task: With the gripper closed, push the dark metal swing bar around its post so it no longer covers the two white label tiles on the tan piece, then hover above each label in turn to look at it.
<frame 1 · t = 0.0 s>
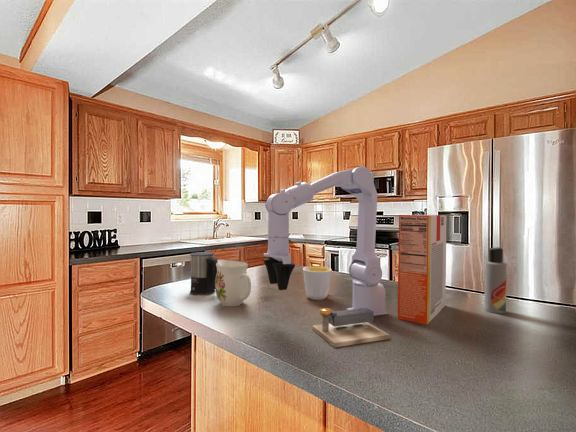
hand: (278, 286, 89), 10 cm above the worktop, tool pointing down, fingers open, 7 cm apart
milk frother: (212, 291, 125), on the worktop
cereal box: (423, 312, 101), on the worktop
pitcher: (233, 304, 107), on the worktop
tan piece: (349, 333, 82), on the worktop
swing bar: (345, 314, 83), point 4 cm above the worktop, hinge at 0.0°
mug: (319, 297, 117), on the worktop
lotion bottle: (494, 311, 102), on the worktop
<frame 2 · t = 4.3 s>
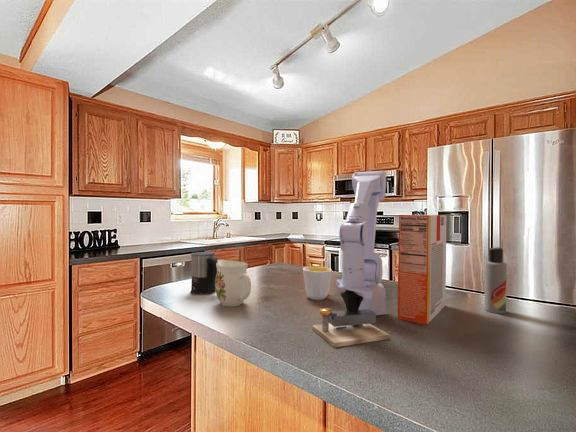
hand: (352, 319, 86), 2 cm above the worktop, tool pointing down, fingers closed, pressing on swing bar
swing bar: (346, 315, 83), point 4 cm above the worktop, hinge at 5.9°, touching gripper
everything else where it was.
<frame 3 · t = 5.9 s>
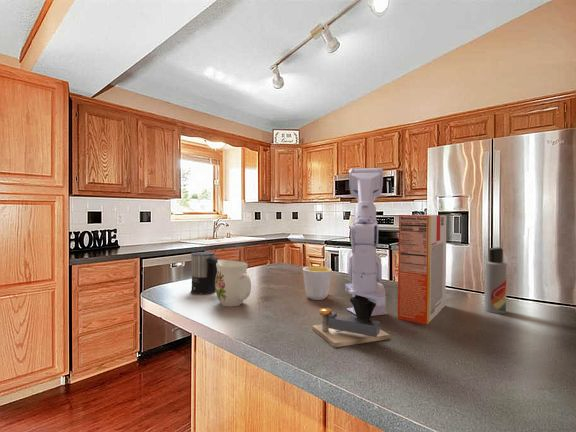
hand: (363, 326, 80), 2 cm above the worktop, tool pointing down, fingers closed
swing bar: (347, 321, 78), point 4 cm above the worktop, hinge at 49.1°, touching gripper
everything else where it was.
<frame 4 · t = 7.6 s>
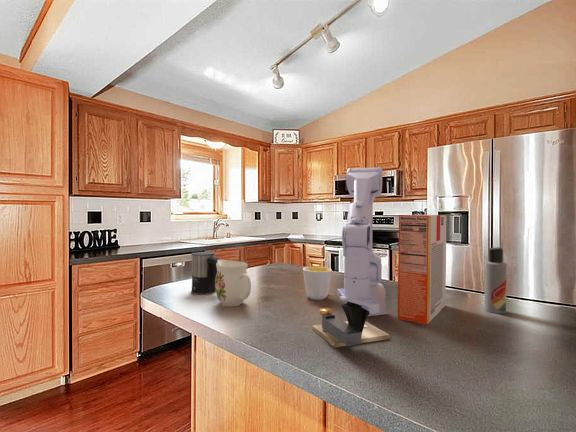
hand: (356, 335, 74), 2 cm above the worktop, tool pointing down, fingers closed, pressing on swing bar
swing bar: (337, 324, 76), point 4 cm above the worktop, hinge at 89.2°, touching gripper
everything else where it was.
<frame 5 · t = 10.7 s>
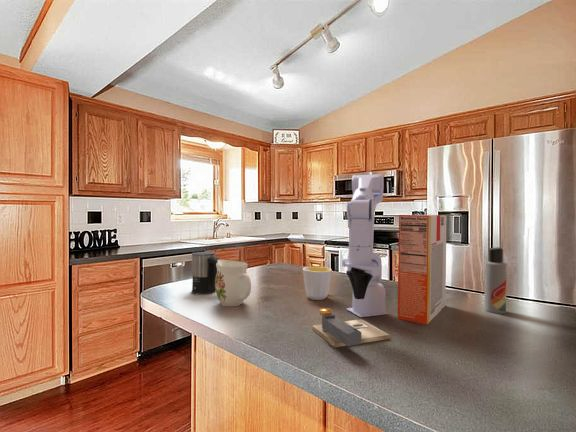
hand: (359, 298, 84), 8 cm above the worktop, tool pointing down, fingers closed
swing bar: (337, 324, 76), point 4 cm above the worktop, hinge at 89.2°
everything else where it was.
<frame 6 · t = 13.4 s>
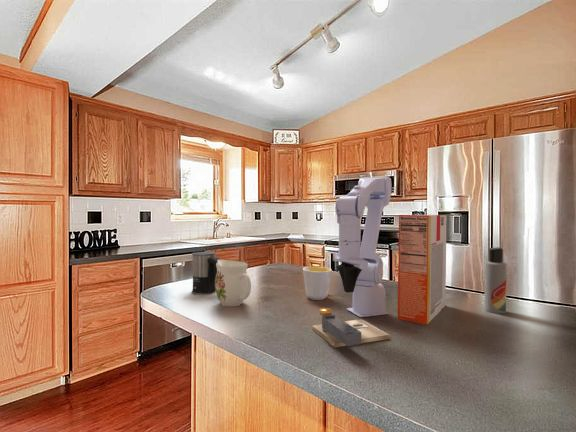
hand: (349, 291, 87), 9 cm above the worktop, tool pointing down, fingers closed
at the end: swing bar at +89° (first picture: +0°) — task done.
